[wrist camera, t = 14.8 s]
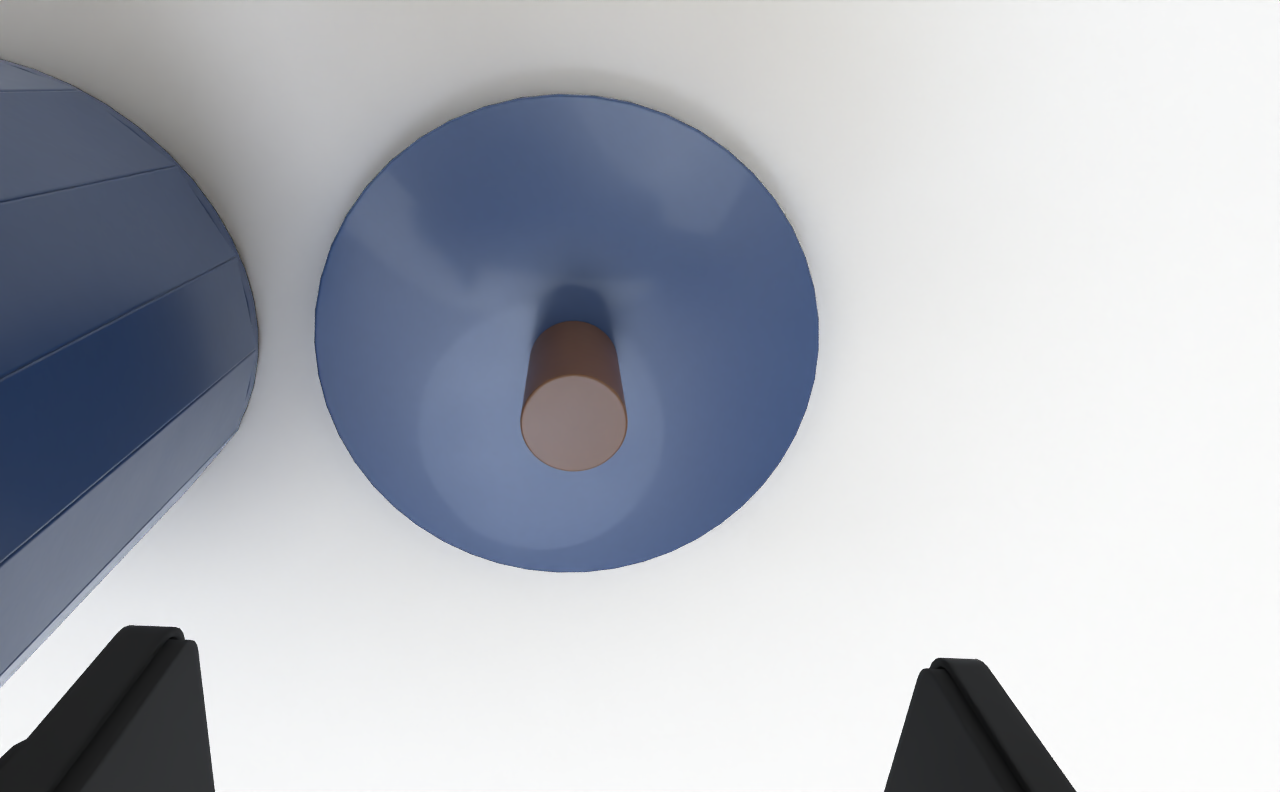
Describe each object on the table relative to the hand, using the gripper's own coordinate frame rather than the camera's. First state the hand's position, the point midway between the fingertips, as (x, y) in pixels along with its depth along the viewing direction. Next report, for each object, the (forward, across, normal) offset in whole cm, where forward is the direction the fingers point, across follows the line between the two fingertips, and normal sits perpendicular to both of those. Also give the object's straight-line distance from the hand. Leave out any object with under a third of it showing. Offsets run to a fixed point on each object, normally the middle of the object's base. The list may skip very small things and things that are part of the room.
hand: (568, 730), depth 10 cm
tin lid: (+14, 0, 0) cm, 15 cm away
